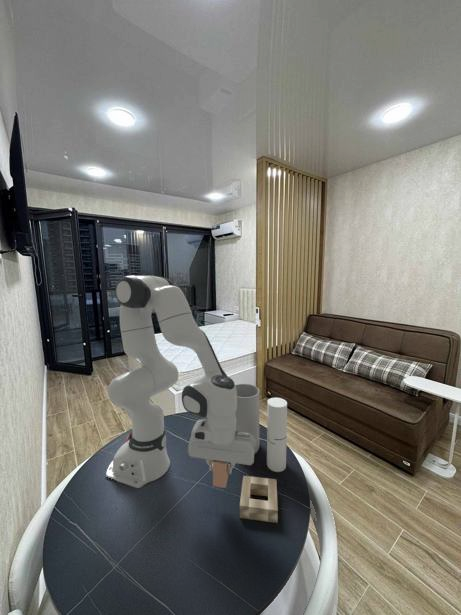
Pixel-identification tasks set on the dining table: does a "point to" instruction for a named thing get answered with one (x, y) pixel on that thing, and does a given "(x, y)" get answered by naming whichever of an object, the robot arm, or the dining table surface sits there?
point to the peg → (220, 473)
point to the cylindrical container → (276, 434)
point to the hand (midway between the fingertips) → (220, 470)
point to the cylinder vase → (248, 411)
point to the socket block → (259, 507)
